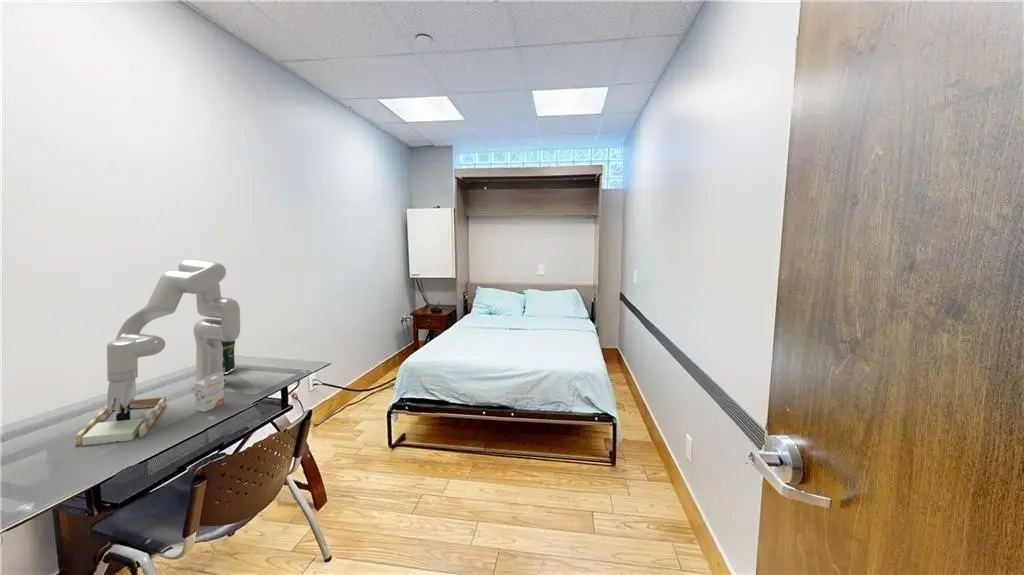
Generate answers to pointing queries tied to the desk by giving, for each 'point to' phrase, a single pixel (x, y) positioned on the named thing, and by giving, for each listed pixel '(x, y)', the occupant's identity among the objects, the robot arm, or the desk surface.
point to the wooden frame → (136, 403)
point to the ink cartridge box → (209, 392)
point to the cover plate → (112, 431)
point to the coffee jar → (228, 356)
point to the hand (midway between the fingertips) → (123, 422)
